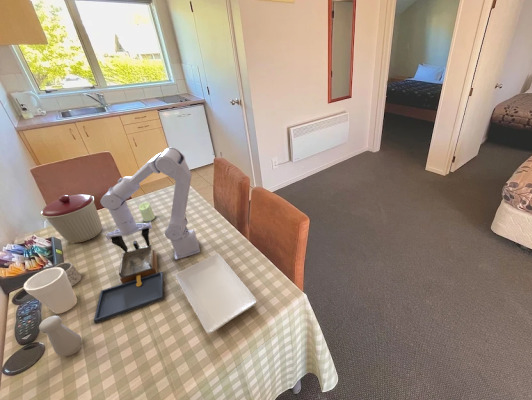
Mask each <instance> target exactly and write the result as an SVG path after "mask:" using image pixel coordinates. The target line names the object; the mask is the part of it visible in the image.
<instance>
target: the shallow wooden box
mask: <svg viewBox="0 0 532 400" xmlns="http://www.w3.org/2000/svg"><path fill="white" fill-rule="evenodd" d="M155 273H158V253H157V251H156V249H153V269H151V270H148V271H144V272H141V273H138V274H135V275H132V276H128V277H125V278H121V277H120V276H119V281H120V282H121V284H124V283H127V282H130V281H133V280H136V279H137V278H136V276H138V275H141V278H143V277H146V276H149V275H152V274H155Z"/></svg>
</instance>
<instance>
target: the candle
mask: <svg viewBox="0 0 532 400" xmlns="http://www.w3.org/2000/svg"><path fill="white" fill-rule="evenodd" d="M138 210H139V212H140V215H141V217H142V220H143V221H144V222H151V221H153V220H154V219H155V218H156V216H155V214H154V210H153V208H152V205H151V204H150V202H148V201H145V202H142V203H141V204H140V205H139V206H138Z"/></svg>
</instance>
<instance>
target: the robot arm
mask: <svg viewBox="0 0 532 400" xmlns="http://www.w3.org/2000/svg"><path fill="white" fill-rule="evenodd" d="M153 173H154V174H160V173H162V174H164V175H166V176H167V177H169V178H171V179H173V180H174V181H175V184H174V191H173V197H172V205H171V213H170V218H169V222H168V226H167V228H166V229H165V231H164V236H165V237H166V238H167V239H168V240H170V243H171V246H172V249H173V251H174V260H179V259H180V260H181V259H183V258H186V257H190V256H193V255H196V254H200V253H201V249H200V242H199V240H198V238H197V237H198V236H197V234H196V230H195V229H188V226H187V225H188V219H187V207H188V206H187V205H188V201H189V200H188V199H189V195H190V194H189V193H190V187H191V183H192V172H191V170H190V168H189V166H188V163H187V162H186V157H185V155H184V154H183V153H182V152H181V151H180V150H179V149H177V148H176V147H166V148H164V149H163V151H162V152H159V153H157V154H156V155H154V156H153V157H151V158H150V159H149V160H148V161H147V162H145V164H143V166H141V167H140V168H139V169H138V170H137V171H136V172H135V173H134V174H133V175H132V176H123V178H122V177H120V178H119V179H118V180H117V183H116V184H115V185H113V186H111V187H110V188H108V191H107V192H106V193H105V194H104V195H102V197H101V198H100V200H99V201H100V204H101V206H102V207H103V208H105V209H107V210H108V211H109V213H110V215H111V218H112V219H113V221H114V223H115V225H116V227H117V229H115V230H113V231H110V232H107V233H106V234H105V237H106V239H107V241H109V240H111V243H112V245H115V246H117V247H119V248H120V249H121V250H122V251H123V252H128V251H129V250H128V246H127V244H126V243H125V241H124V238H123V237H124V236H130V235H133V234H135V233H138V232H141V236H142V237H143V239H144V241H145V244H146V246H149V245H151V244H150V237H149V235H150V230H152V229H153V226H152V223H151V221H148V222H144V223H143V222H142V223H136V220H135V218H134V215H133V214H132V211H131V210H130V206H129V205H128V203H127V200H128V199H129V198H130V197H132V196H133V195H134V194H135V193H136V192H138V190H140V188H141V185H140V183H141V182H143V181H144V180H146V179H147V178H148V177H149V176H151V175H152V174H153Z"/></svg>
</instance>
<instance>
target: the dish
mask: <svg viewBox="0 0 532 400" xmlns="http://www.w3.org/2000/svg"><path fill="white" fill-rule="evenodd" d="M132 245H133V247H134V249H131V250H127V252H125V251H123V252H122V253H121V257H120V263H119V269H118V275H119V278H120V277H121V278H125V277H128V276H132V275H135V274H138V273H141V272H144V271H148V270H151V269H153V250H154V247H153V245H152V244H150V245H149V246H147V245H146V246H142V247H140V245H139V243H138V240H134V241H133V243H132Z"/></svg>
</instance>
